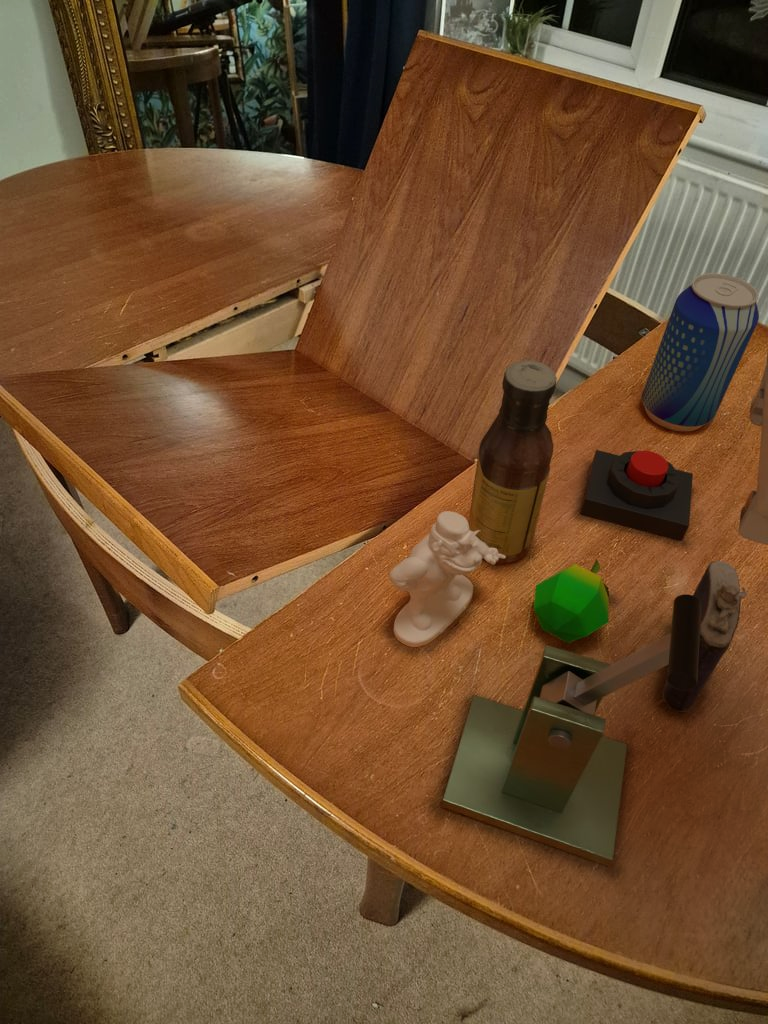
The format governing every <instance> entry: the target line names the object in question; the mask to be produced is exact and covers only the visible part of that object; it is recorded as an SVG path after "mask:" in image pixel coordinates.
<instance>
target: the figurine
mask: <svg viewBox="0 0 768 1024" xmlns="http://www.w3.org/2000/svg"><path fill="white" fill-rule="evenodd" d="M468 523H469V520H468V519H467V518H466V517H465V516H464V515H463V514H460V513H458V512H456V511H451V510H444V511H442V512H440V513H439V514H438V515H437V517H436V522H435V523H434V524H433V525H432V526H431V530H430V532H429V533H428V534H426V535H425V536H424V537H423V539H421V540H420V541H419V542H418V543H417V544H416V545H414V547H413V548H412V550H411V552H410V554H409V555H408V557H405V558H404V559H403V560H401V561H400V562H399V563H398V564H397V565H395V566H394V567H393V568H392V569H391V570H390V572H389V579H390V582H391V583H392V585H393V586H394V588H395V589H396V590H398V591H399V592H408V594H409V597H410V598H409V601H408V602H407V603H406V604H405V605H404V606H403V607H402V608H401V610H400V611H399V612H398V614H397V615H396V616H395V620H394V623H393V634H394V636H395V639H397V641H399V642H400V643H401V644H403V645H405V646H407V647H410V648H419V647H423V646H426V645H428V644H430V643H431V642H432V641H434V640H435V639H436V638H438V637H439V636H440V635H442V634H443V633H444V632H445V631H446V630H447V628H449V626H451V625H452V624H453V623H454V622H455V620H457V619H458V617H459V616H460V615H461V614H462V613H463V612H464V611H466V609H467V607H468V606H469V604H470V602H471V600H472V598H473V594H474V585H473V583H472V581H471V580H470V579H469V578H467V577H466V575H469V574H472V573H473V571H476V570H477V569H478V568H480V566H481V564H482V561H483V559H484V560H485V562H487V563H488V564H490V565H493V566H494V565H496V564H497V563H496V562H497V561H498V560H499V559H498V558H502V559H504V558H506V556H505V555H502V554H499V553H498V550H497V549H496V548H489V547H488V546H487V545H486V544H485V543H484V542H482V541H481V540H480V539H479V538H478V537H476V536H475V535H476V534H477V533H479V532H481V530H477V531H474V532H473V531H471V530H469V524H468Z"/></svg>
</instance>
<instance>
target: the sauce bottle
mask: <svg viewBox="0 0 768 1024" xmlns="http://www.w3.org/2000/svg"><path fill="white" fill-rule="evenodd" d="M501 386H502V391H503V394H502V398H501V405H500V408H499V411H498V415H497V416H496V417H495V418H494V421H493V422H492V423H491V425H490V426H489V428H488V430H487V431H486V433H485V434H484V436H483V438H482V439H481V440H480V442H479V443H480V444H479V448H478V455H477V460H476V469H475V475H474V482H473V489H472V490H473V491H472V495H471V503H470V510H469V517H468V524H469V530H471V531H473V532H474V531H477V530H481V532H479V533H477V534H476V535H475V536H476V537H478V538H479V539H480V540H481V541H482V542H484V543H485V544H486V545H487V546H488V547H489V548H496V549H497V550H498V553H499V554H502V555H505V556H506V558H504V559H502V558H498V559H499V560H498V561H497V562H496V564H498V565H499V564H508V563H513V562H516V561H519V560H522V559H523V557H525V556H526V555H527V553H528V552H529V549H530V547H531V544H532V542H533V541H534V537H535V533H536V529H537V525H538V521H539V517H540V513H541V509H542V504H543V500H544V497H545V492H546V488H547V483H548V480H549V475H550V471H551V462H552V458H553V454H554V442H553V437H552V431H551V430H550V428H549V427H548V426H547V423H546V422H547V421H548V420H547V419H548V410H549V407H550V401H551V399H552V396H553V395H555V391H556V387H557V374H556V372H555V371H554V370H553V369H552V368H551V367H550V366H549V365H547V364H544V363H543V362H539V361H535V360H519V361H515V362H513V363H511V364H509V365H508V367H507V368H506V369H505V371H504V374H503V379H502V385H501Z"/></svg>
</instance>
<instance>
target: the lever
mask: <svg viewBox="0 0 768 1024" xmlns="http://www.w3.org/2000/svg"><path fill="white" fill-rule="evenodd" d="M672 607H673V608H672V618H671V629H670V632H668V633H667V634H665V635H664V636H662V637H659V638H658V639H656V640H654V641H652V642H651V643H648V644H647V645H645V646H643V647H641V648H639V649H637V650H636V651H634V652H632V653H630V654H628V655H626V656H624V657H622V658H621V659H619V660H617V661H615V662H613V663H612V664H611V663H610V664H611V665H610V666H608V667H606V668H604V669H602V670H600V671H598V672H597V673H595V674H593V675H591V676H589V677H587V678H585V679H584V680H583V679H581V678H580V677H578V676H576V675H575V674H573V673H572V672H570V671H568V672H566V673H564V674H562V675H561V676H559V677H557V678H555V679H553V680H552V681H550V682H548V683H546V684H545V685H543V686H542V690H541V695H540V698H542V699H545V700H548V701H551V702H554V703H558V704H561V705H564V706H567V707H570V708H573V709H576V710H580V711H583V712H586V713H589V714H592V715H595V714H596V712H595V708H596V702H597V700H598V699H600V698H602V699H603V698H605V697H606V696H608V695H610V694H612V693H614V692H617V691H618V690H620V689H622V688H624V687H626V686H628V685H630V684H633V683H634V682H637V681H638V680H641V679H642V678H644V677H646V676H648V675H650V674H652V673H654V672H656V671H658V670H660V669H662V668H664V667H666V666H668V667H667V672H668V673H666V674H667V676H666V682H667V681H668V683H669V685H670V686H672V687H673V688H675V689H678V690H691V689H694V688H695V687H696V685H697V678H698V659H699V641H700V622H701V601H700V600H699V599H698V598H697V597H695V596H693V594H689V593H687V594H686V593H685V594H680V595H678V596H676V597H675V598H674V600H673V605H672Z"/></svg>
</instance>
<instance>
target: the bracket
mask: <svg viewBox="0 0 768 1024" xmlns="http://www.w3.org/2000/svg"><path fill="white" fill-rule="evenodd" d="M610 665H611V663H608V662H605V661H602V660H598V659H595V658H593V657H588V656H584V655H581V654H579V653H575V652H571V651H569V650H565V649H562V648H558V647H555V646H551V645H548V644H546V645H545V646H544V649H543V652H542V655H541V657H540V660H539V663H538V666H537V669H536V672H535V674H534V678H533V679H532V680H533V681H532V684H531V686H530V689H529V691H528V695H527V698H526V701H525V702H524V703H525V704H524V707H523V709H519V708H516V707H513V706H510V705H507V704H504V703H500V702H497V701H495V700H492V699H489V698H485V697H483V696H479V695H476V694H473V695H472V698H471V702H470V705H469V710H468V712H467V716H466V718H465V722H464V726H463V729H462V732H461V736H460V739H459V742H458V745H457V749H456V751H455V756H454V758H453V762H452V766H451V769H450V771H449V776H448V780H447V783H446V786H445V789H444V793H443V796H442V799H441V802H440V803H441V804H440V807H441V808H443V809H446V810H449V811H451V812H453V813H457V814H460V815H463V816H466V817H469V818H471V819H474V820H477V821H480V822H482V823H484V824H487V825H491V826H494V827H497V828H499V829H501V830H505V831H507V832H510V833H514V834H516V835H519V836H522V837H525V838H528V839H530V840H533V841H535V842H539V843H542V844H544V845H547V846H550V847H552V848H555V849H558V850H561V851H564V852H567V853H569V854H572V855H575V856H578V857H580V858H583V859H586V860H589V861H592V862H595V863H598V864H600V865H603V866H605V867H609V866H610V865H611V864H612V862H613V861H614V857H615V856H614V855H615V848H616V839H617V832H618V831H617V830H618V822H619V815H620V806H621V798H622V789H623V782H624V775H625V765H626V759H627V749H628V744H627V743H625V742H622V741H619V740H615V739H613V738H610V737H606V736H604V734H605V728H606V722H607V720H606V718H605V717H603V716H599V715H595V714H594V715H592V714H589V713H586V712H583V711H580V710H576V709H573V708H570V707H567V706H564V705H561V704H558V703H554V702H551V701H548V700H545V699H542V698H540V695H541V690H542V686H543V685H545V684H546V683H548V682H550V681H552V680H553V679H555V678H557V677H559V676H561V675H562V674H564V673H566V672H568V671H570V672H572V673H573V674H575V675H576V676H578V677H580V678H581V679H583V680H584V679H585V678H587V677H589V676H591V675H593V674H595V673H597V672H598V671H600V670H602V669H604V668H606V667H608V666H610ZM602 700H603V697H602V698H600V699H598V700H597V702H596V708H595V713H596V712H597V710H598V708H599V705H601V701H602Z"/></svg>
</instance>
